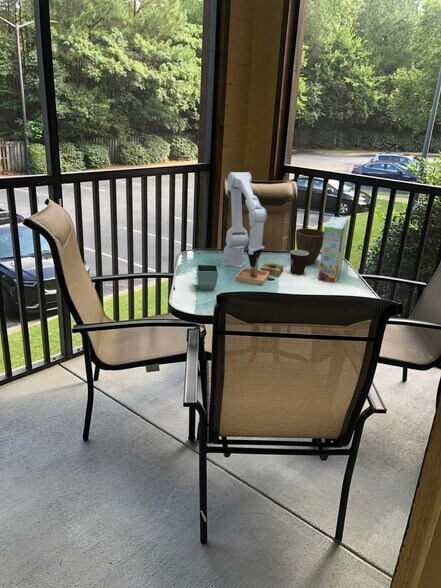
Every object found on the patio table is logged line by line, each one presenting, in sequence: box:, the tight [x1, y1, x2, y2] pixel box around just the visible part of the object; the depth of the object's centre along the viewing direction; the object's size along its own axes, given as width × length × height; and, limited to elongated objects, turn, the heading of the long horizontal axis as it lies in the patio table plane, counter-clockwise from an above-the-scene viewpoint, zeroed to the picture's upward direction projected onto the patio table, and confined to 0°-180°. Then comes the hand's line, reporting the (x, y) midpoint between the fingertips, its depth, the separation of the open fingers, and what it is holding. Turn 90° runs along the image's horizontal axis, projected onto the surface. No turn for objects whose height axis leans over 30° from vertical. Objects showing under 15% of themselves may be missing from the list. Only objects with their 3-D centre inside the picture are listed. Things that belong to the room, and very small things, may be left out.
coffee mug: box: [289, 249, 309, 276], centre depth 219 cm, size 12×9×10 cm
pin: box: [250, 258, 259, 277], centre depth 206 cm, size 3×3×9 cm
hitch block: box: [260, 262, 284, 278], centre depth 217 cm, size 9×9×3 cm
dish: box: [234, 267, 270, 286], centre depth 208 cm, size 13×13×2 cm
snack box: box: [317, 216, 349, 284], centre depth 214 cm, size 22×9×26 cm, turn 159°
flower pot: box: [196, 264, 219, 291], centre depth 194 cm, size 9×9×9 cm
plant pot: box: [295, 228, 324, 266], centre depth 231 cm, size 15×15×16 cm
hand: (253, 265), depth 206 cm, fingers closed on pin, 3 cm apart
